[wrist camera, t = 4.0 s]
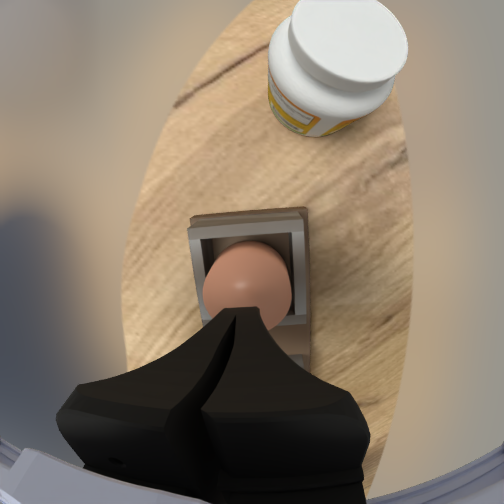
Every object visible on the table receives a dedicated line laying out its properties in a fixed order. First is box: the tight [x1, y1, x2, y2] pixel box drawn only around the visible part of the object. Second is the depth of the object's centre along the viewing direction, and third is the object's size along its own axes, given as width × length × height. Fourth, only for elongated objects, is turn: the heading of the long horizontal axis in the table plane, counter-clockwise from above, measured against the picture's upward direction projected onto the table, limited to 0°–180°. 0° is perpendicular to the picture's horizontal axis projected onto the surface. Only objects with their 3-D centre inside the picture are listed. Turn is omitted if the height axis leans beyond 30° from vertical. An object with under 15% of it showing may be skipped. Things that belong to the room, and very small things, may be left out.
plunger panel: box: [187, 207, 310, 373], centre depth 18 cm, size 16×7×4 cm, turn 5°
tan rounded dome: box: [203, 240, 292, 330], centre depth 14 cm, size 4×4×2 cm
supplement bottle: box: [268, 0, 408, 137], centre depth 11 cm, size 5×5×10 cm
